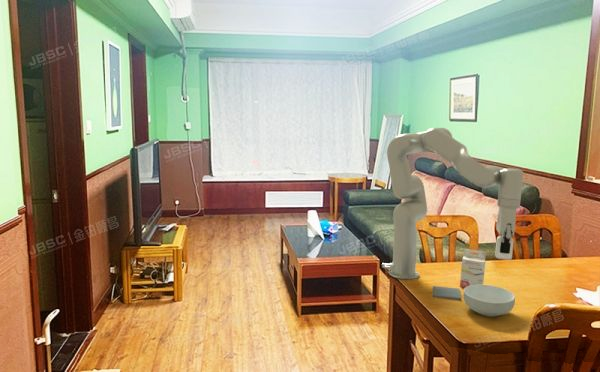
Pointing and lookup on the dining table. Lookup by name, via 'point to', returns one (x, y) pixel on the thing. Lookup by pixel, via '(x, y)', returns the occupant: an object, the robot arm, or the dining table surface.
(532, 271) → the dining table surface
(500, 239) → the eye dropper bottle
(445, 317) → the dining table surface
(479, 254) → the ink cartridge box
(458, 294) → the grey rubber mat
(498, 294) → the cereal bowl
